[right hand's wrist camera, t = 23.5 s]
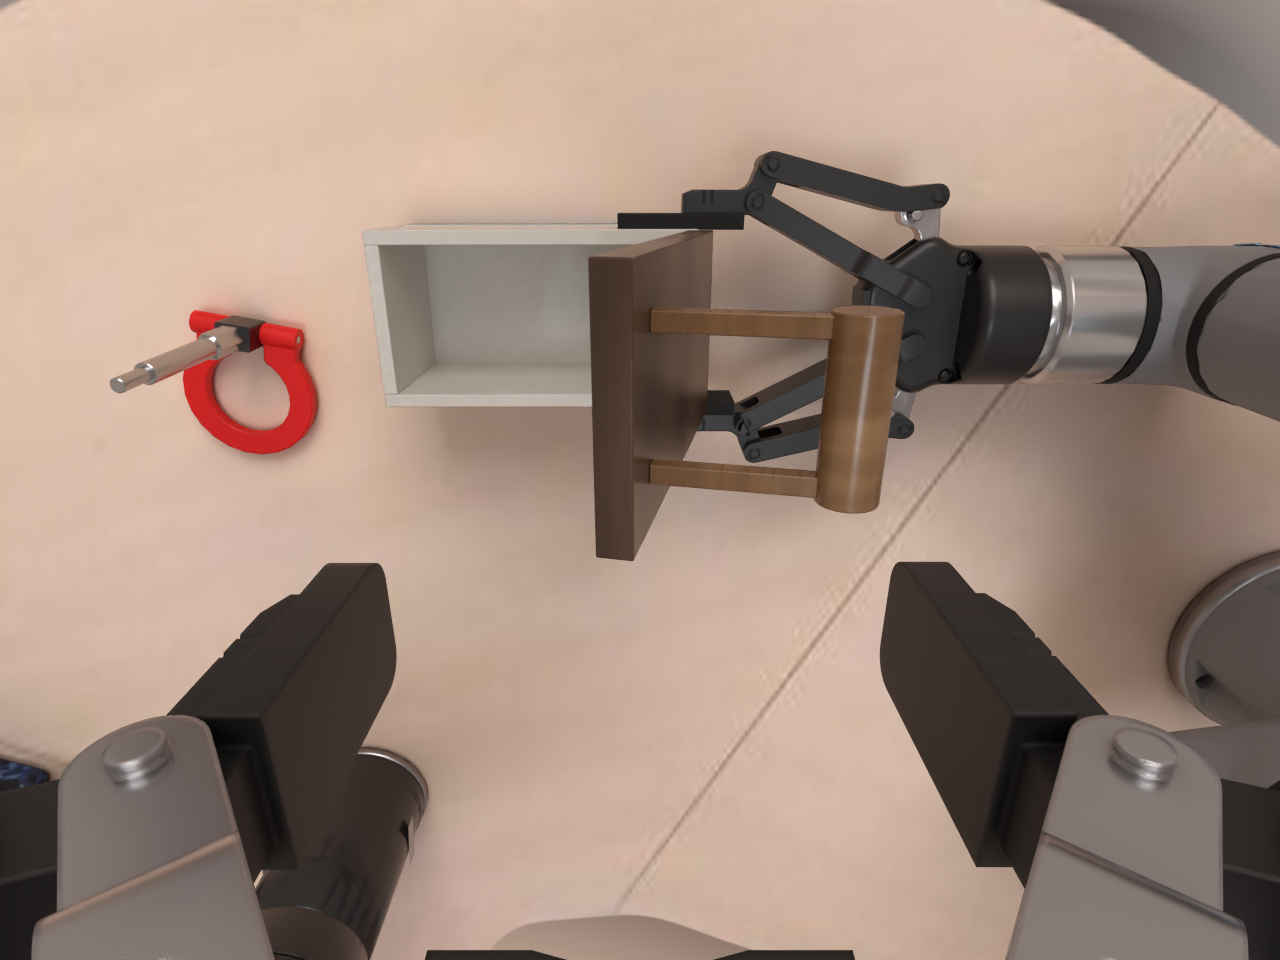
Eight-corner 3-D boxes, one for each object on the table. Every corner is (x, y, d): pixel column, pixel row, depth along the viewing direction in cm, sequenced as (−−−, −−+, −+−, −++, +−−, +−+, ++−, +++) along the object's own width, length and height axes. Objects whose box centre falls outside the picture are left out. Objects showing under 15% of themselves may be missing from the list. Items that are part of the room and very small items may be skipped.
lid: (595, 558, 23) (880, 588, 21) (587, 256, 19) (927, 262, 17) (683, 409, 39) (849, 419, 37) (688, 229, 35) (871, 231, 33)
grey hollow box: (429, 371, 47) (385, 407, 39) (412, 223, 44) (361, 229, 36) (685, 371, 47) (694, 407, 39) (688, 223, 44) (699, 229, 36)
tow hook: (320, 457, 50) (319, 328, 46) (216, 549, 38) (204, 385, 34) (197, 436, 49) (187, 304, 45) (54, 523, 37) (24, 354, 34)
